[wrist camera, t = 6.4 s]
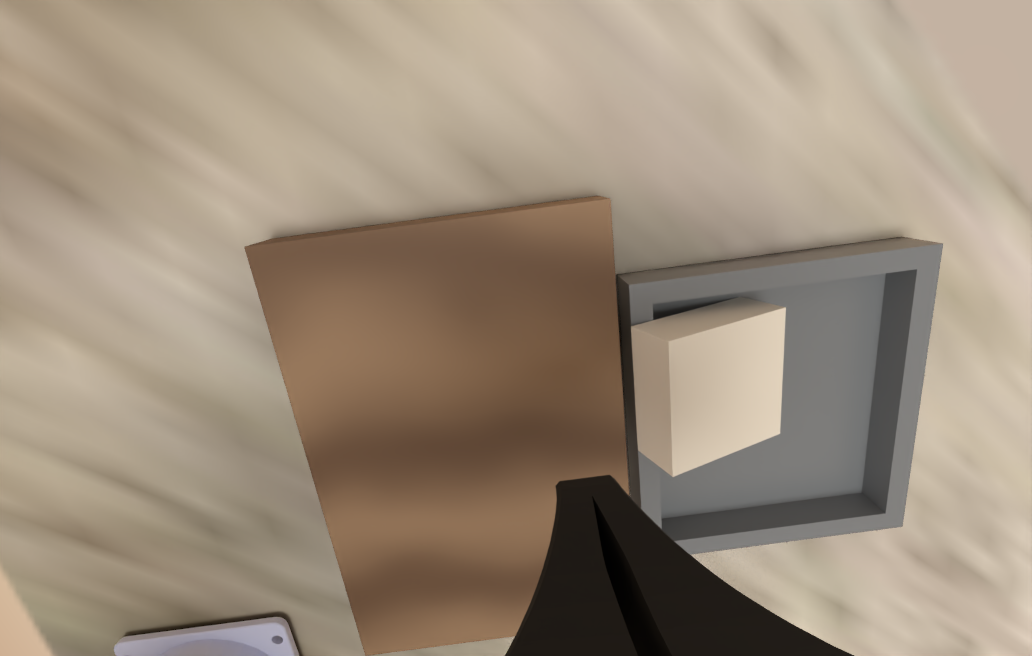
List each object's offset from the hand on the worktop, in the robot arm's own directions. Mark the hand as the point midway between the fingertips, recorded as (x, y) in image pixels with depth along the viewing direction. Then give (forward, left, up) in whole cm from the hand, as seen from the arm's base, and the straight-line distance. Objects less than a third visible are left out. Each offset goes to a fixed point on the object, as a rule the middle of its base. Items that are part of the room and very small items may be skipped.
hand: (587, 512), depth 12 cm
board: (-2, +4, -9) cm, 9 cm away
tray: (-2, -8, -9) cm, 12 cm away
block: (0, -5, -7) cm, 9 cm away
